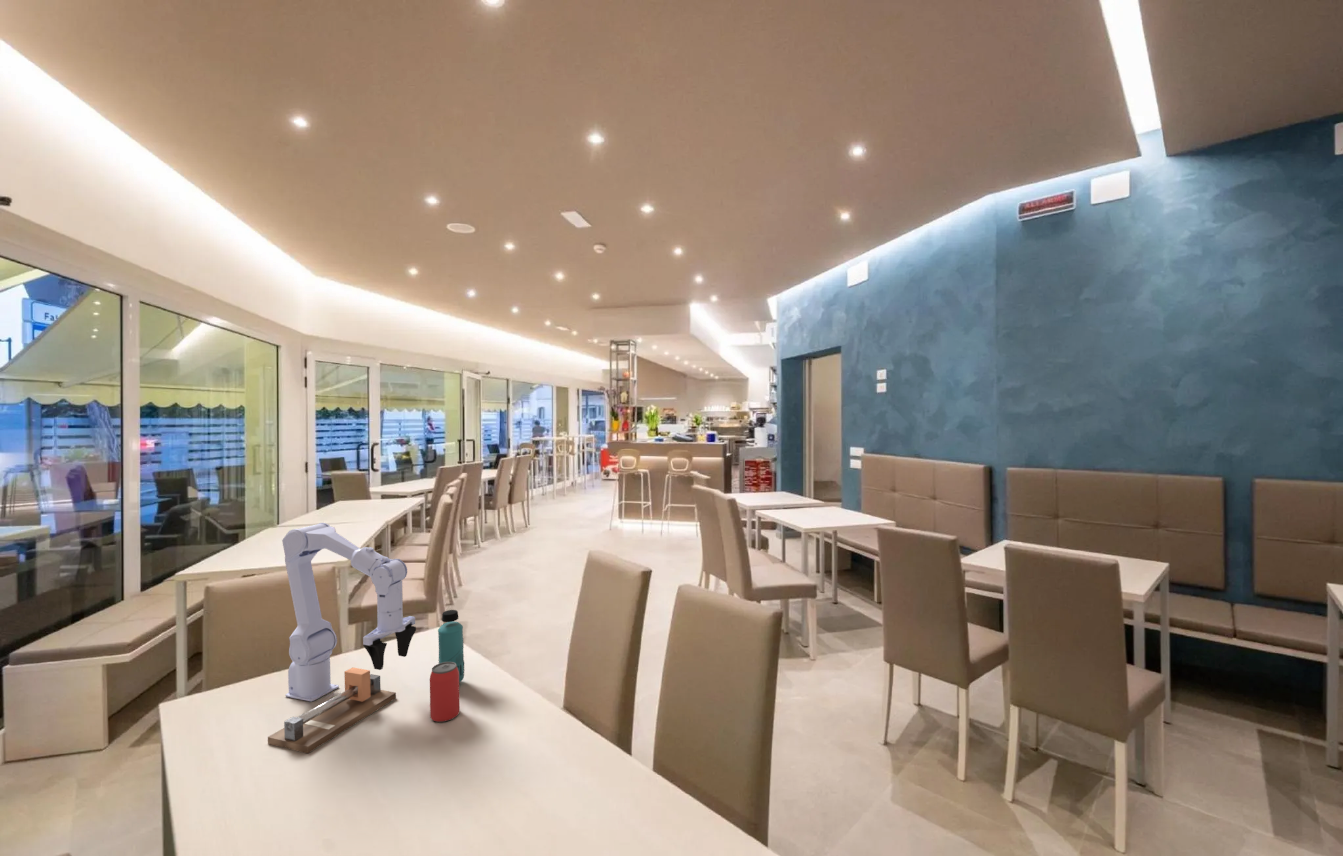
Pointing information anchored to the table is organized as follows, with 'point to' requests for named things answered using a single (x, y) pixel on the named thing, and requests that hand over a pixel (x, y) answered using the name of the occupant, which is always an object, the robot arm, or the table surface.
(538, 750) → the table surface
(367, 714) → the board
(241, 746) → the table surface
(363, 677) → the collar
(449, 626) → the beverage bottle
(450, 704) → the beer can
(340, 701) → the pipe stand
